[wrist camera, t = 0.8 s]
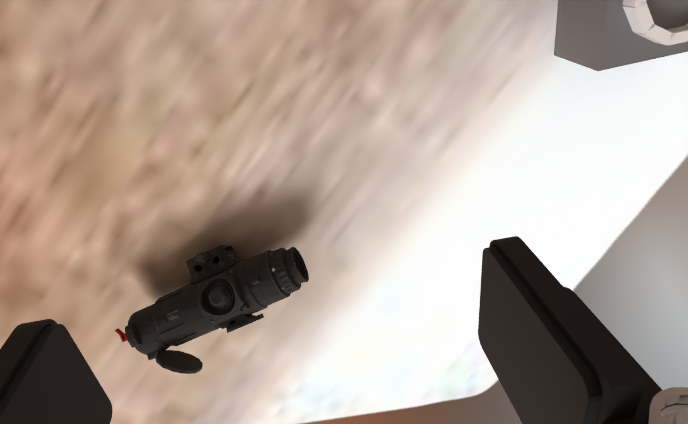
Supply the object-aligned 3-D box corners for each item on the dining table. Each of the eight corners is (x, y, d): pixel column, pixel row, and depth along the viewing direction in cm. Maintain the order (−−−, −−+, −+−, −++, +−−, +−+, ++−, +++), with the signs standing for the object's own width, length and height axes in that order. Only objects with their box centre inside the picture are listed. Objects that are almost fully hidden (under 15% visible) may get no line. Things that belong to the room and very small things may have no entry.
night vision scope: (295, 222, 46) (332, 312, 45) (149, 288, 48) (180, 376, 47) (271, 216, 38) (314, 325, 37) (98, 295, 40) (132, 401, 39)
